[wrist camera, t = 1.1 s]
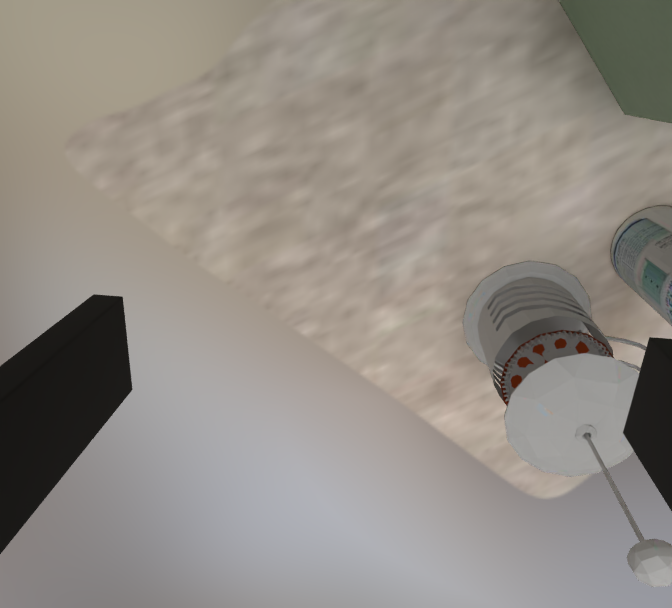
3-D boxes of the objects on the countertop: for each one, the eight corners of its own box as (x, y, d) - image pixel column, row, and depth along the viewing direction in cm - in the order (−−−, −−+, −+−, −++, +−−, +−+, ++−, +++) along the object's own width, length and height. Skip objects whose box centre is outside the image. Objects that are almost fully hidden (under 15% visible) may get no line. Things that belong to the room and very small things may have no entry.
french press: (463, 263, 44) (539, 474, 21) (623, 257, 43) (889, 476, 20) (461, 376, 48) (525, 663, 25) (609, 374, 47) (820, 674, 24)
